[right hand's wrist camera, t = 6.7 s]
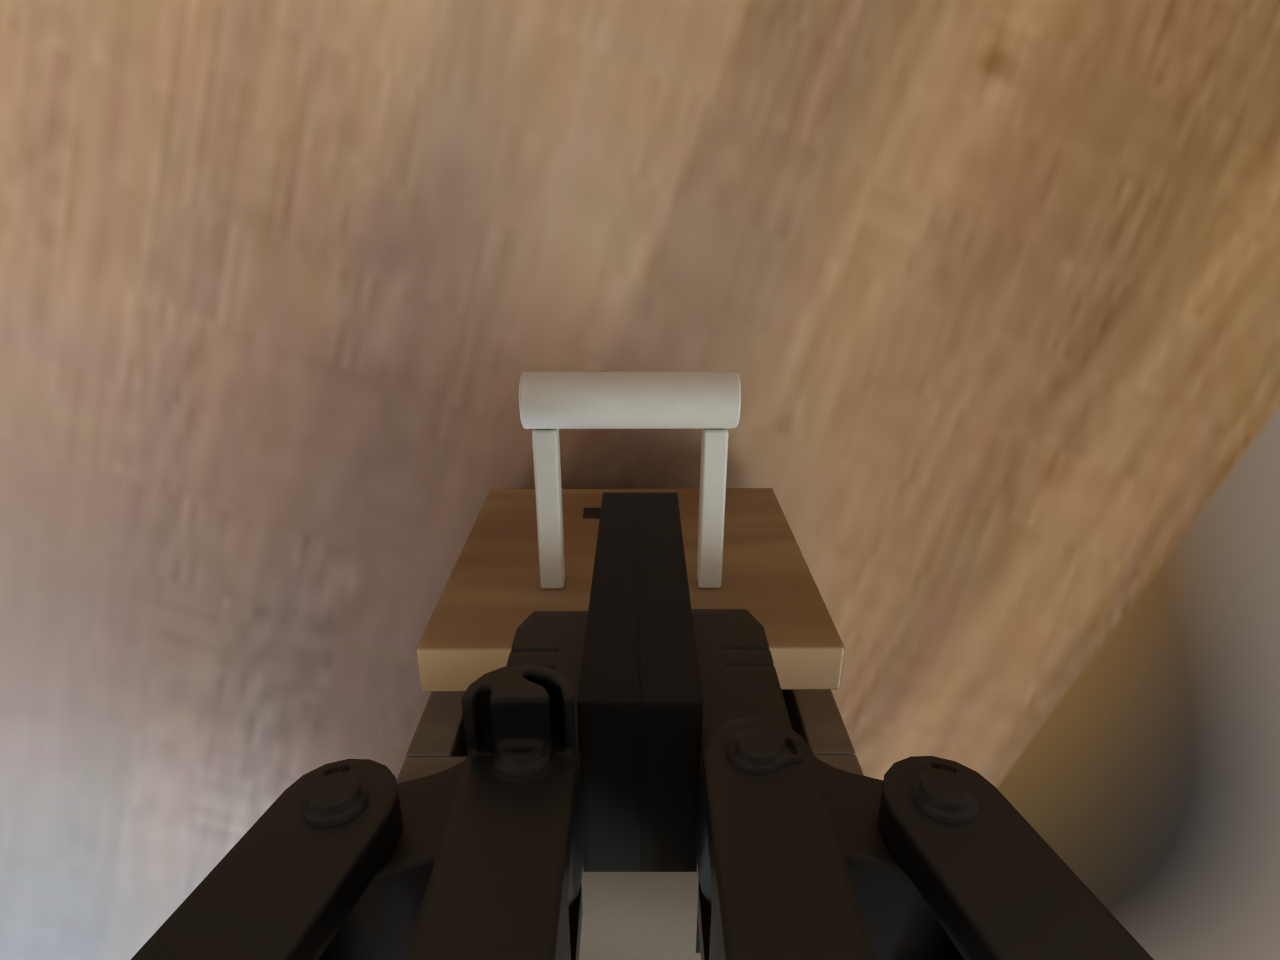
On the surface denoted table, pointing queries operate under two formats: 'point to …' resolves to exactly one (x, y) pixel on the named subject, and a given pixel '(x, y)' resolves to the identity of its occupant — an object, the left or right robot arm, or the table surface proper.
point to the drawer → (569, 520)
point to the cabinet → (632, 901)
